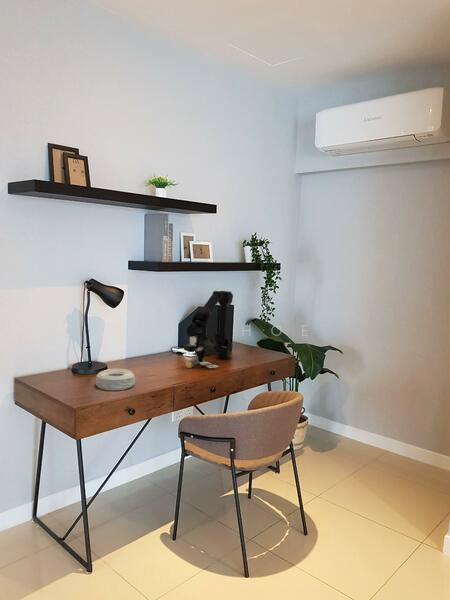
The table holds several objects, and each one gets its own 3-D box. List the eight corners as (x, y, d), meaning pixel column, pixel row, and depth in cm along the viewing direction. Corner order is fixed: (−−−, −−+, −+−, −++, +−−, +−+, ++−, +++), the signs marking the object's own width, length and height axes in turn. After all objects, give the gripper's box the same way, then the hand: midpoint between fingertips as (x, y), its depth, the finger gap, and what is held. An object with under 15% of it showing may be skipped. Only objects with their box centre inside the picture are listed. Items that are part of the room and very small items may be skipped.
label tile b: (214, 365, 265) (214, 364, 265) (218, 366, 262) (219, 366, 262) (205, 366, 261) (205, 365, 261) (209, 368, 258) (209, 367, 258)
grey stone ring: (120, 378, 232) (121, 366, 231) (142, 386, 220) (143, 374, 219) (88, 384, 219) (88, 372, 219) (110, 394, 207) (110, 380, 207)
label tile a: (207, 362, 270) (207, 361, 270) (211, 364, 267) (211, 363, 267) (198, 363, 267) (198, 362, 267) (202, 365, 264) (202, 364, 264)
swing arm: (198, 360, 273) (198, 354, 273) (204, 360, 272) (204, 354, 272) (185, 367, 256) (185, 360, 256) (191, 368, 255) (191, 361, 254)
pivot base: (201, 360, 275) (201, 359, 275) (207, 362, 270) (207, 361, 270) (192, 361, 272) (192, 360, 272) (198, 363, 267) (198, 363, 267)
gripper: (195, 338, 247) (194, 367, 249) (224, 335, 258) (223, 363, 260) (183, 334, 256) (183, 363, 258) (212, 331, 267) (211, 359, 269)
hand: (200, 362), depth 261 cm, fingers closed
